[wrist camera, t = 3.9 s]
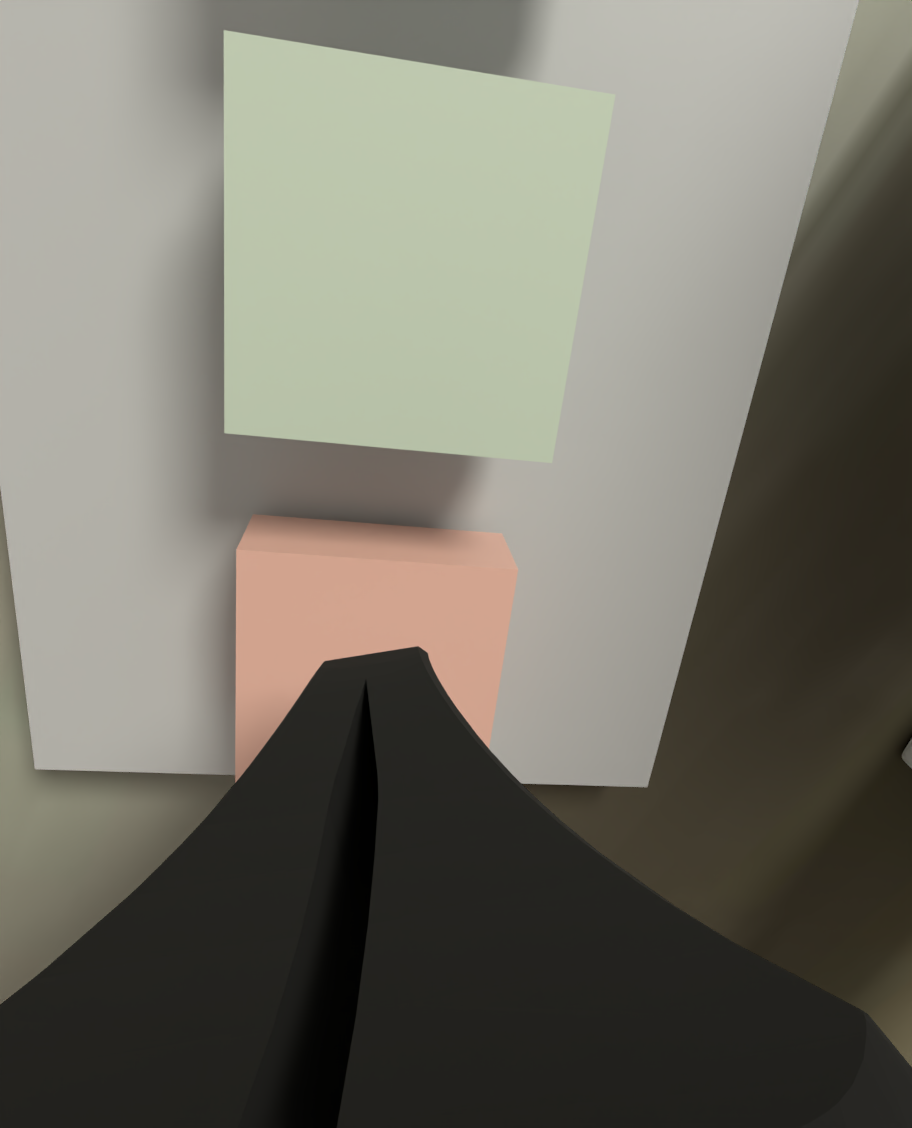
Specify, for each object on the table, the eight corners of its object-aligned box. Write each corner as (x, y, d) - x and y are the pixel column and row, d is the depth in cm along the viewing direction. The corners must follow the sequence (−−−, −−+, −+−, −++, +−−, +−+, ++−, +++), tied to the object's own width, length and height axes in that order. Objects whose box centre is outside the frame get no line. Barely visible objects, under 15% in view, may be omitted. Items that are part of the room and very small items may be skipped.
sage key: (555, 133, 12) (615, 94, 9) (513, 416, 14) (551, 463, 11) (263, 88, 12) (223, 29, 9) (259, 391, 14) (224, 433, 10)
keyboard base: (927, -458, 11) (1012, -567, 10) (626, 746, 19) (646, 786, 18) (-87, -752, 9) (-175, -944, 8) (63, 725, 17) (34, 769, 16)
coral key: (490, 507, 16) (518, 569, 13) (463, 695, 18) (482, 789, 15) (264, 489, 15) (236, 549, 12) (261, 686, 17) (235, 782, 14)
